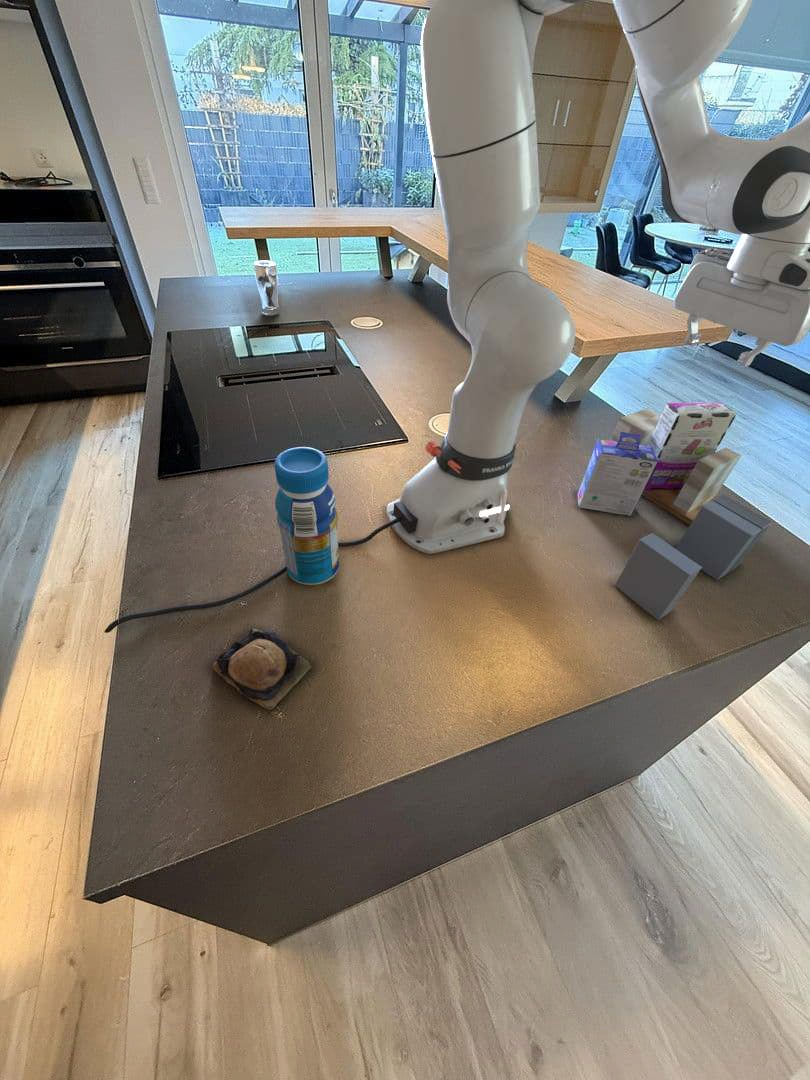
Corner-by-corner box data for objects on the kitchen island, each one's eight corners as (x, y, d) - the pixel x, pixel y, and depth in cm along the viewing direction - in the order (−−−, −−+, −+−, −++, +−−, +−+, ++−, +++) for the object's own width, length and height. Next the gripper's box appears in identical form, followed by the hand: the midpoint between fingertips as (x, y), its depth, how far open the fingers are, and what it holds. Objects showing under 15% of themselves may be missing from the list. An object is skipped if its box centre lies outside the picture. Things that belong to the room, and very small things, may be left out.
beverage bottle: (274, 571, 71) (252, 462, 58) (311, 541, 77) (299, 435, 63) (315, 596, 68) (302, 487, 55) (351, 563, 74) (347, 457, 60)
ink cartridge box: (627, 499, 90) (659, 434, 80) (631, 517, 86) (666, 450, 76) (576, 491, 91) (601, 425, 81) (578, 508, 87) (605, 441, 77)
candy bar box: (680, 475, 96) (722, 401, 84) (694, 489, 92) (739, 414, 81) (630, 475, 94) (665, 400, 83) (641, 490, 91) (680, 414, 80)
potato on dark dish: (315, 666, 60) (313, 650, 57) (267, 716, 55) (262, 701, 52) (258, 625, 64) (253, 609, 61) (207, 669, 59) (200, 653, 56)
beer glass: (257, 315, 155) (249, 264, 145) (265, 308, 160) (258, 259, 150) (277, 317, 155) (271, 266, 144) (284, 311, 160) (279, 261, 149)
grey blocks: (657, 620, 69) (689, 575, 62) (614, 585, 73) (639, 539, 66) (737, 566, 78) (772, 522, 71) (694, 538, 83) (723, 494, 76)
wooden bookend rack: (695, 528, 85) (727, 479, 77) (597, 466, 99) (616, 418, 91) (727, 510, 90) (761, 461, 82) (629, 453, 103) (650, 406, 96)
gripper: (688, 245, 73) (651, 335, 82) (828, 279, 61) (765, 381, 70) (711, 243, 76) (672, 331, 85) (849, 276, 63) (785, 374, 73)
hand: (715, 354), depth 77 cm, fingers open, 8 cm apart
